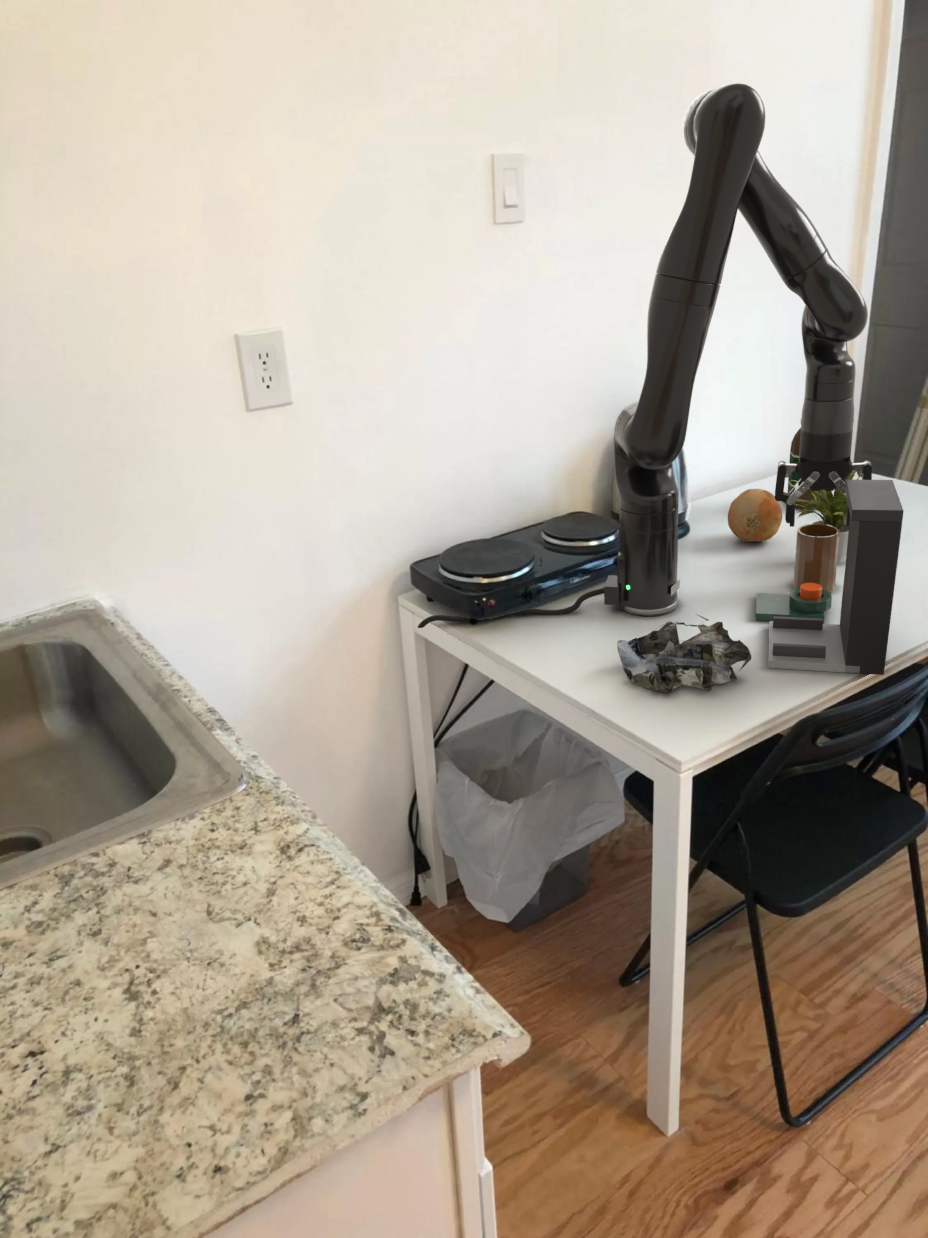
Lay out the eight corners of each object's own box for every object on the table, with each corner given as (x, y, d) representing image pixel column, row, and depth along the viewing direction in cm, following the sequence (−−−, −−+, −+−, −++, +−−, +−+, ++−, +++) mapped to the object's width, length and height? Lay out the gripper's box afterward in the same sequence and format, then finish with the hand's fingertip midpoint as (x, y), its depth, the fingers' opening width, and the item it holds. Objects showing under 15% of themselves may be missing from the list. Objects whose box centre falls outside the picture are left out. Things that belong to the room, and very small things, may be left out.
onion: (728, 550, 172) (730, 498, 168) (724, 532, 181) (726, 482, 177) (783, 550, 170) (787, 497, 166) (777, 531, 179) (780, 481, 175)
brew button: (799, 600, 144) (800, 590, 144) (799, 592, 147) (800, 582, 146) (821, 601, 143) (822, 591, 143) (820, 593, 146) (821, 582, 146)
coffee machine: (768, 668, 131) (778, 508, 122) (768, 628, 143) (777, 479, 133) (883, 675, 127) (903, 510, 117) (875, 633, 138) (892, 479, 128)
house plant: (806, 537, 175) (813, 452, 168) (883, 550, 166) (893, 461, 159) (774, 562, 165) (779, 473, 158) (853, 577, 157) (862, 483, 150)
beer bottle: (778, 502, 194) (785, 386, 184) (810, 496, 196) (819, 380, 186) (801, 512, 187) (810, 392, 177) (834, 506, 189) (845, 386, 179)
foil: (664, 624, 139) (731, 598, 126) (689, 692, 138) (760, 673, 125) (603, 644, 134) (668, 619, 121) (629, 715, 133) (697, 698, 120)
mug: (835, 595, 151) (840, 537, 147) (793, 594, 153) (797, 536, 149) (832, 574, 159) (837, 518, 155) (792, 572, 161) (796, 517, 157)
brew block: (755, 620, 145) (756, 602, 144) (756, 599, 152) (757, 582, 151) (831, 624, 142) (832, 606, 141) (828, 602, 149) (830, 585, 148)
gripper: (778, 433, 142) (773, 533, 149) (879, 431, 138) (869, 534, 145) (778, 421, 149) (773, 517, 156) (874, 418, 144) (865, 517, 151)
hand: (819, 525), depth 150 cm, fingers open, 8 cm apart
